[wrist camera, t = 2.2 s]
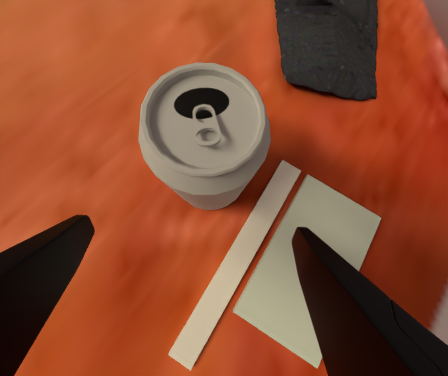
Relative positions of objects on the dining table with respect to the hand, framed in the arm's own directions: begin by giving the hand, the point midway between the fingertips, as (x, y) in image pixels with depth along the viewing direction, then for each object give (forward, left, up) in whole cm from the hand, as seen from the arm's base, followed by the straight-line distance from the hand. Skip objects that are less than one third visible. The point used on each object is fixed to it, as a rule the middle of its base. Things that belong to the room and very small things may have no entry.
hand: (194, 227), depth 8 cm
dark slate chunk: (+31, +1, -12) cm, 33 cm away
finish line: (0, -4, -12) cm, 12 cm away
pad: (+3, -11, -12) cm, 16 cm away
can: (+5, +3, -12) cm, 13 cm away
